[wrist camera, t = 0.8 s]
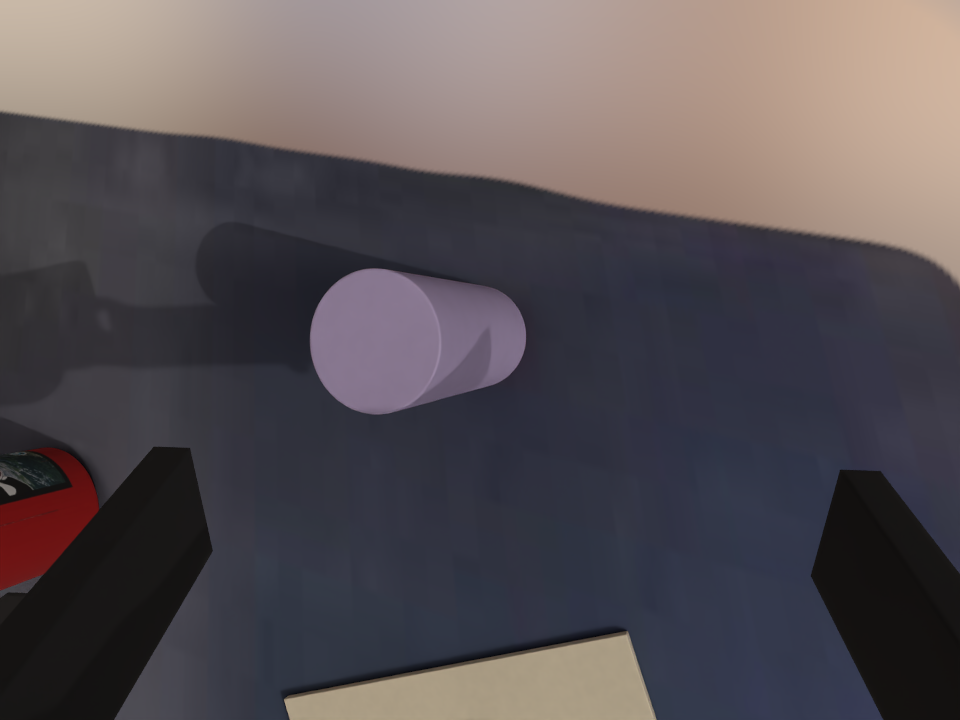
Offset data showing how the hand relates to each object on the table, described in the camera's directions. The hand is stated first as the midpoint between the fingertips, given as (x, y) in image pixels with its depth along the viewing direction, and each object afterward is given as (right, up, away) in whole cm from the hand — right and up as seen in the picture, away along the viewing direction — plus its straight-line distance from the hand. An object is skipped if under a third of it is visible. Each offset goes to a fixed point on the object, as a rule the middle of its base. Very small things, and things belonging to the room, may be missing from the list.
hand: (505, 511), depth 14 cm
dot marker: (0, +4, +17) cm, 17 cm away
